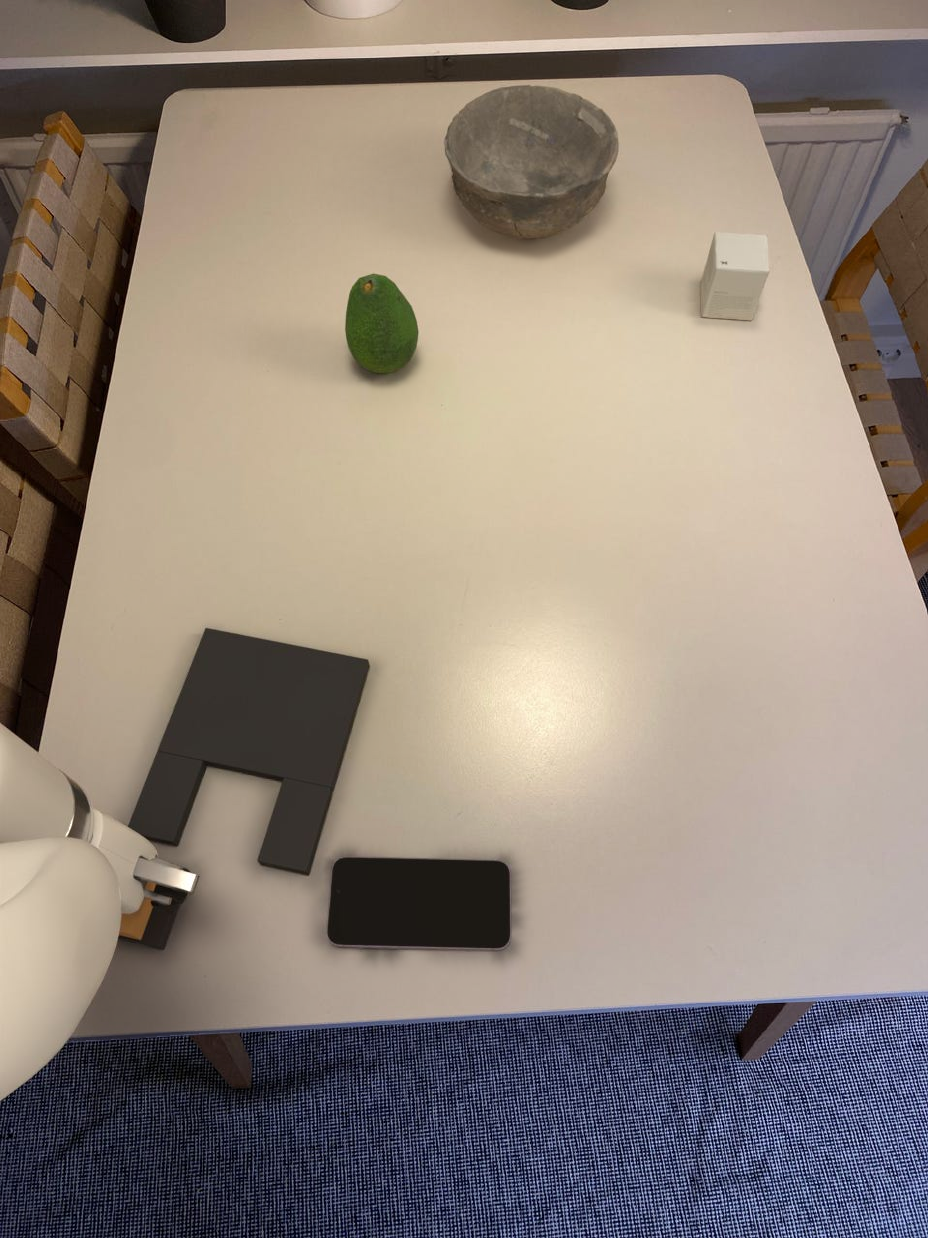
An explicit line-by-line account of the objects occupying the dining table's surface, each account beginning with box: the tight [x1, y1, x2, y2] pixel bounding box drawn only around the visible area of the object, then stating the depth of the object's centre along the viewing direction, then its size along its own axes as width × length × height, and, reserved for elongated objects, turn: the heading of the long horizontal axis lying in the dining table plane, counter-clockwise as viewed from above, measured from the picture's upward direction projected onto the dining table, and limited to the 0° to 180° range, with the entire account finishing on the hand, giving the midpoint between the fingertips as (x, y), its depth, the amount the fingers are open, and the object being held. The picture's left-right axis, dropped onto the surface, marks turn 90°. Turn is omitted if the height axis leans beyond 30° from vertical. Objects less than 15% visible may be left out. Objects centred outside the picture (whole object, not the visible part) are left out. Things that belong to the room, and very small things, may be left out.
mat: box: [127, 627, 371, 876], centre depth 82 cm, size 20×16×2 cm
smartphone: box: [325, 855, 512, 952], centre depth 76 cm, size 7×1×15 cm
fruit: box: [344, 272, 419, 374], centre depth 99 cm, size 8×8×12 cm
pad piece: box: [118, 866, 190, 951], centre depth 75 cm, size 6×6×4 cm
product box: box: [699, 231, 771, 321], centre depth 106 cm, size 6×6×7 cm
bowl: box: [443, 84, 620, 239], centre depth 112 cm, size 21×21×10 cm
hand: (117, 880), depth 71 cm, fingers open, 9 cm apart
